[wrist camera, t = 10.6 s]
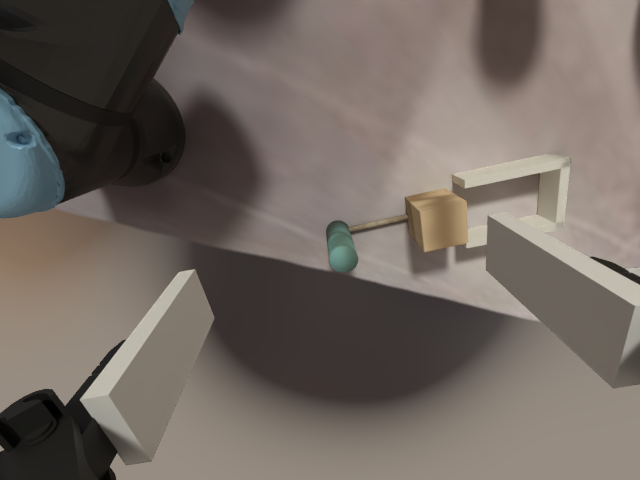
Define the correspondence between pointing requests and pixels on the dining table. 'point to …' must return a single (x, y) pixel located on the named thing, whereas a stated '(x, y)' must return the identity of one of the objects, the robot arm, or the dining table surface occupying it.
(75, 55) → the robot arm
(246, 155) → the dining table surface
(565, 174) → the rail lane
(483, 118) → the dining table surface
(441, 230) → the corded oak block
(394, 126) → the dining table surface
